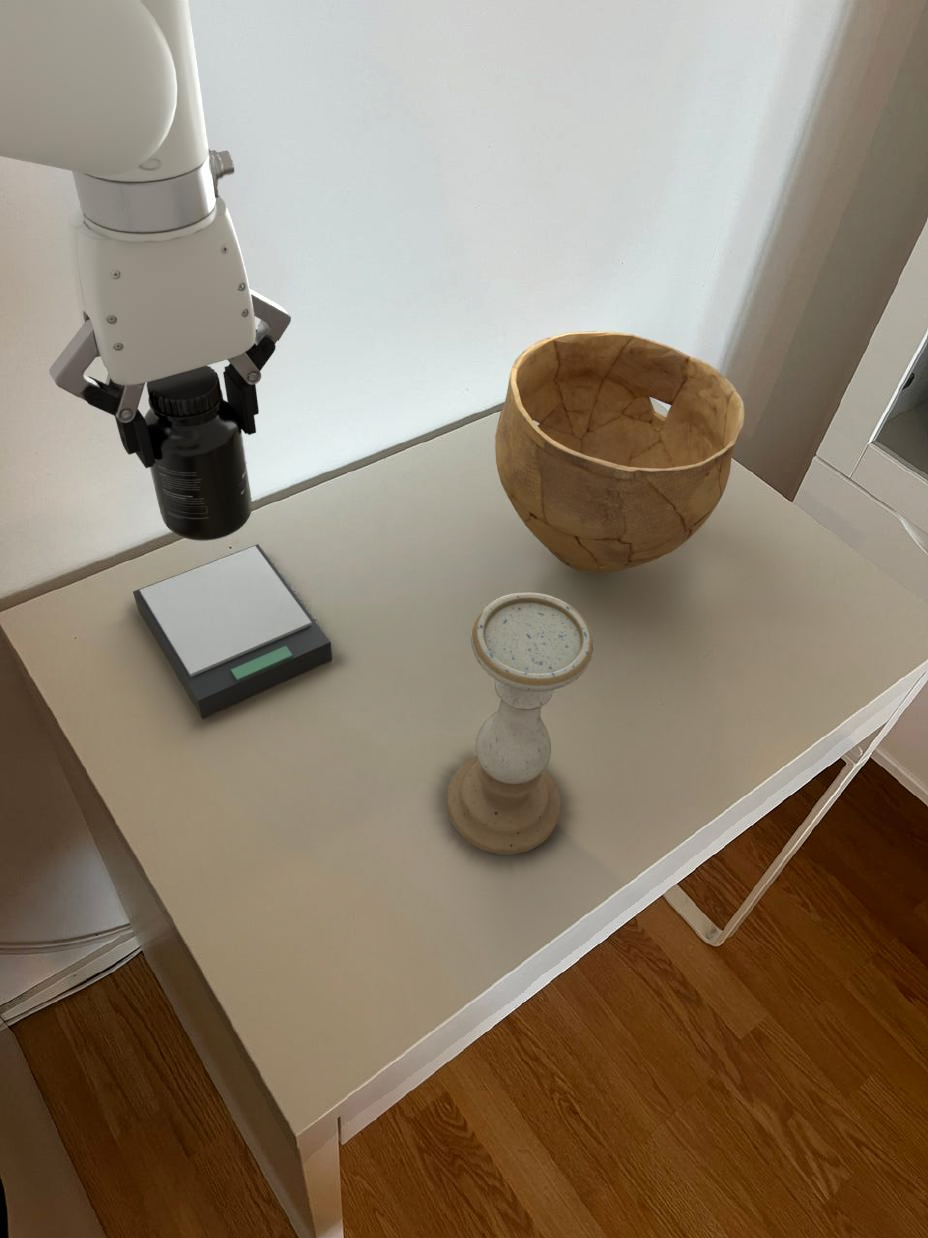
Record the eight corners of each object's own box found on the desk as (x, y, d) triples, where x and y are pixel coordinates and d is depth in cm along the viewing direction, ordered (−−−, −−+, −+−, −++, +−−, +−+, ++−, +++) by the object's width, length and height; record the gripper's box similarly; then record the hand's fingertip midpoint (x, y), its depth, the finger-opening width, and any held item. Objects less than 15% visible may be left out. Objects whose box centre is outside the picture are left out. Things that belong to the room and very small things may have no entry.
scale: (202, 719, 76) (196, 698, 74) (138, 610, 83) (131, 588, 81) (332, 660, 81) (330, 638, 79) (260, 562, 88) (257, 540, 86)
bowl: (478, 491, 97) (494, 318, 82) (668, 495, 99) (718, 326, 84) (489, 643, 83) (511, 467, 68) (711, 645, 85) (779, 473, 70)
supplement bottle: (271, 515, 72) (255, 383, 63) (197, 557, 68) (169, 423, 59) (217, 473, 75) (194, 340, 66) (144, 511, 71) (109, 377, 62)
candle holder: (503, 738, 76) (531, 563, 61) (582, 809, 72) (633, 640, 57) (423, 800, 72) (432, 627, 57) (502, 879, 68) (535, 716, 53)
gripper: (257, 138, 59) (280, 380, 72) (-31, 190, 52) (54, 448, 65) (313, 184, 55) (327, 431, 68) (9, 249, 48) (91, 510, 61)
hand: (193, 438), depth 66 cm, fingers closed on supplement bottle, 6 cm apart
